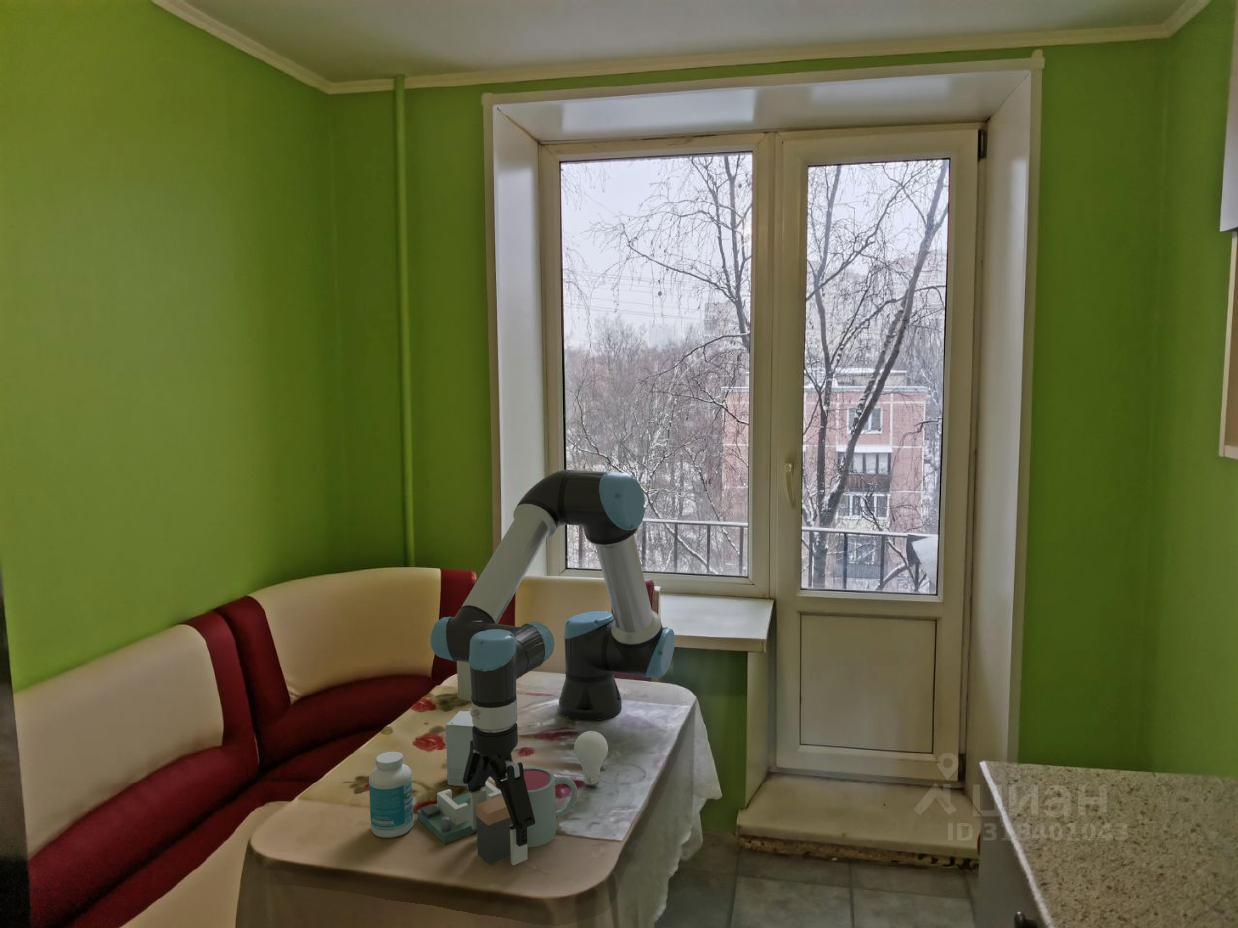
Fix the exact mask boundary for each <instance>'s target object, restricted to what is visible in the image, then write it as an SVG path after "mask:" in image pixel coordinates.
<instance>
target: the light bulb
mask: <svg viewBox="0 0 1238 928" xmlns="http://www.w3.org/2000/svg"><path fill="white" fill-rule="evenodd" d="M573 746H574V747H573V752H574V755H575V756H574V757H575V758H576V759H577V761H578V762H579V764H580V766H581V769H582V774H583V775H584V776H583V783H584V784H585V785H586V786H588V787H595V786H597V785H598V784H599V783H600V776H599V775H600V773H601V767H602V764H603V763H604V761H605V759H606V757H607V755H608V750H609V746H608V742H607V739H606V738H605V736H603V734H601V733H600V732H598V731H594V730H588V731H585V732H582V733H580V734H579V736H578V737H577V738H576V740H575V742H574V745H573Z"/></svg>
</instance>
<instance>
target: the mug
mask: <svg viewBox="0 0 1238 928" xmlns="http://www.w3.org/2000/svg"><path fill="white" fill-rule="evenodd" d="M523 770H524V779H525V783H526V787H527V790H528V794H529V798H530V802H531V806H532V810H533V814H534V818H535V824H534V825H531V826H529V827H527V848H535V847H540V846H543V845H545V844H548V843H549V842H550V841H551V842H552V840H553V839H554V838H555V837H556V834H557V818H561V817H564V816H565V815H567V814H568V813H570V812H571V811H572V810H573V808H574V807H575V805H576V804H577V800H578V796H579V795H578V794H579V793H578V788H577V784H576V783H575V782H574V781H573V779H571V778H570V777H568V776H557V777H555V775H554V773H553V772H552V771H551V770H548V769H547V768H543V767H537V766H526V767H523ZM504 780H507V778H506V779H503V780H502V781H504ZM559 784H565V785H567V786H568V787H569V788H570V790H571V794H570V795H571V796H570V800H569V801H568V803H567V804H566V806H565V807H564V806H563V808H561V809H556V786H558V785H559Z"/></svg>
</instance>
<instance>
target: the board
mask: <svg viewBox="0 0 1238 928" xmlns="http://www.w3.org/2000/svg"><path fill="white" fill-rule="evenodd" d="M486 785H487V786H485V787H482V788H481V789H485V790H486V801H487V800H490V799H493V798H495V797H498V796H501V795H502V793H501V790H500V789H499V788H497V787H496V785H494V784H492V783H490V782H489V781H488V780H487V781H486ZM436 800H437V801H436V802H437V803H435V804H434V803H431V804H428V805H425V806H423V807H420V809H417V810H416V812H417V813H416V814H417V815H416V817H417V819H418V820H419V821H420V822H421V823H422V824H423V825H424V826H425V827H426V828H427V829H428V830H429V831H430V832H431V833H432V834H434V836H436V837H437V839H438V840H440V842H441V843H443V844H444V845H445V844H448V843H450V842H451V843H452V842H453V841H456V840H459V839H461V838H463V837H465V836H469V835H471V834H474V833H477V829H475V830H473V829H472V828H471V801H470V791H468V792H466V793H463V794H460V795H458V796H454V797H453V792H452V790H451V789H450V788H448V789H444V790H442V791H439V792H437V793H436Z"/></svg>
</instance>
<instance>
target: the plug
mask: <svg viewBox="0 0 1238 928" xmlns="http://www.w3.org/2000/svg"><path fill="white" fill-rule="evenodd" d="M476 822H477V832H476V844H477V856H479V857H480V858H481V859H482V860H483V862H485V863H486V864H487V865H489V866H491V865H493V864H496V863H499V862H500V861H503V860H505V859H507V858H511V845H510V828H509V827H510V825H513V823H512V821H511V818H510V815H509V812H508V809H507V807H506V804H505V801H504V798H503V795H501V796H498V797H495V798H493V799H490V800H487V801H484V802H482V803H479V804H476Z"/></svg>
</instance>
